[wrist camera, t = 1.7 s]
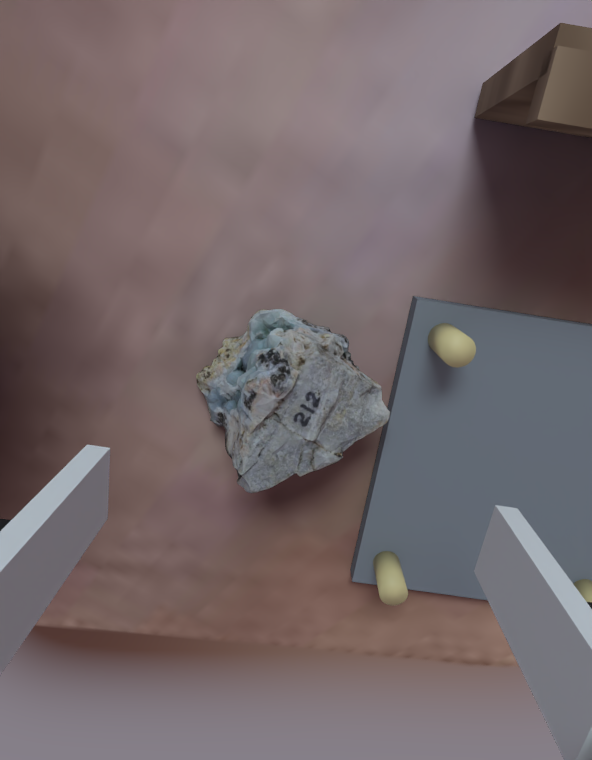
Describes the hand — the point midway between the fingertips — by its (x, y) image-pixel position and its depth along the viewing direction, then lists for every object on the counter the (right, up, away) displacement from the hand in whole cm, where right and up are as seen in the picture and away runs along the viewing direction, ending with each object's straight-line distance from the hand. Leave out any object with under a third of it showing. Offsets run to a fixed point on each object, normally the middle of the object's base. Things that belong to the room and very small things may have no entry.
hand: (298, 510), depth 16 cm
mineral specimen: (0, +4, +14) cm, 15 cm away
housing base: (+14, -1, +16) cm, 21 cm away
